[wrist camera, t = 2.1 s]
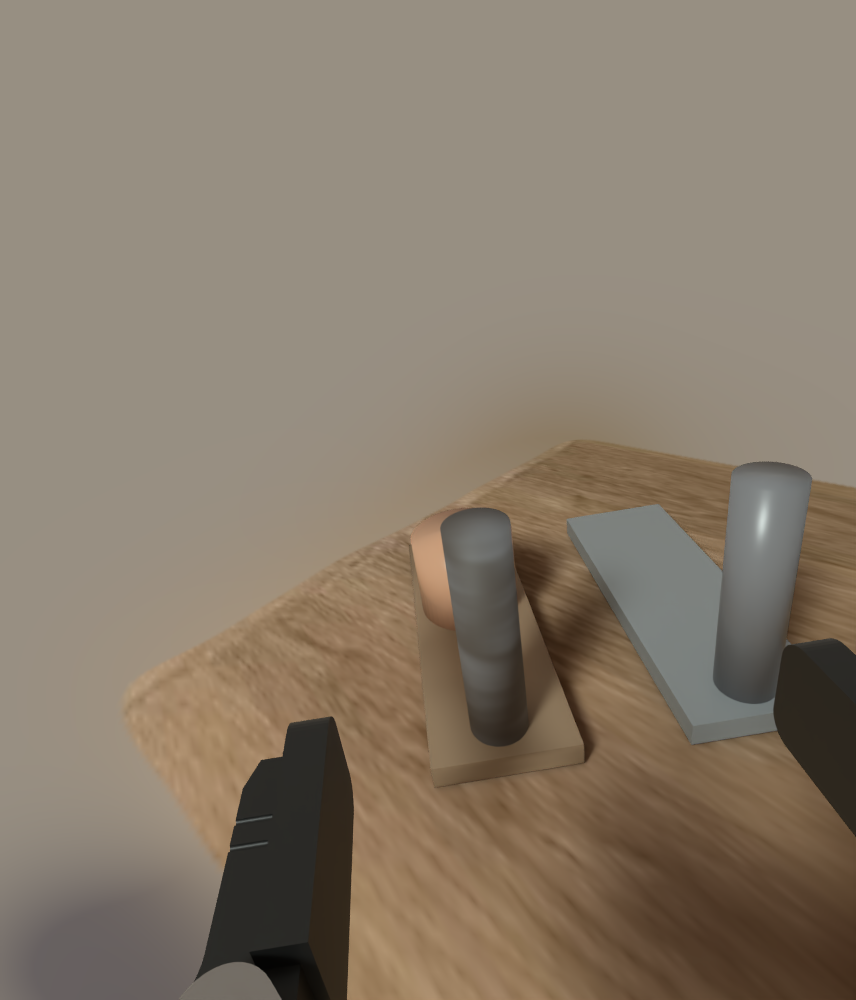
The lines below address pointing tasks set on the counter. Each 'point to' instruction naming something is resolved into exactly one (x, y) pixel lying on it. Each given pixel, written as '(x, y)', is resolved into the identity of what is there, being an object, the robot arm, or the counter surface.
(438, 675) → the peg on wooden base
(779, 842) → the counter surface
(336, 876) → the robot arm
